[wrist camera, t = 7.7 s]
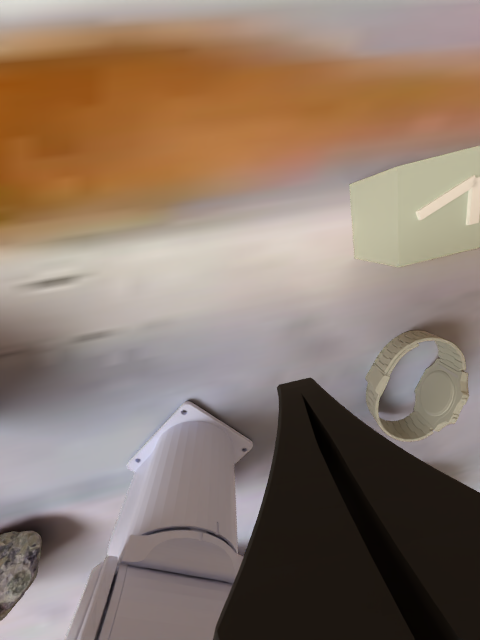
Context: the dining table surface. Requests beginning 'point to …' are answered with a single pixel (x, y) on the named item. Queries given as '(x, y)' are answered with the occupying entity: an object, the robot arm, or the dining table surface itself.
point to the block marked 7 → (418, 210)
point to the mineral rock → (17, 566)
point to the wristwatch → (421, 387)
